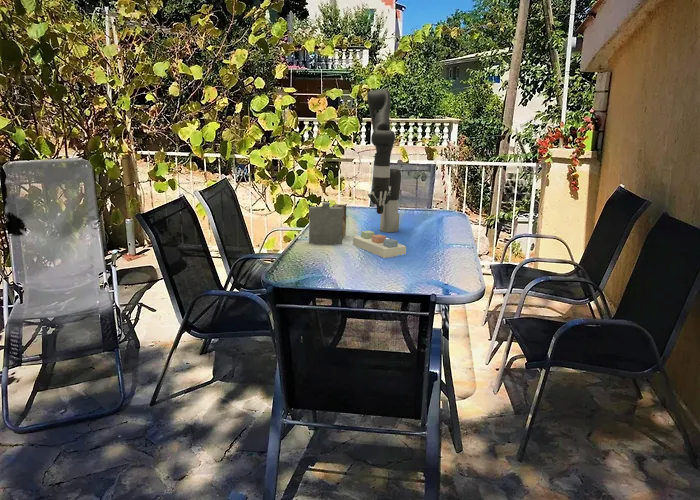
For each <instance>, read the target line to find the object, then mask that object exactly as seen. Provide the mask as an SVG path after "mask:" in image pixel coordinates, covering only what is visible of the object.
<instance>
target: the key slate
mask: <svg viewBox="0 0 700 500" xmlns="http://www.w3.org/2000/svg"><path fill="white" fill-rule="evenodd" d="M398 243H399V240H397V239H395V238H386V239H385V240H384V243H383V246H386V247H388V248H392V247H398Z"/></svg>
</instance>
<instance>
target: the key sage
mask: <svg viewBox="0 0 700 500" xmlns="http://www.w3.org/2000/svg"><path fill="white" fill-rule="evenodd" d="M372 235H376V233H375V232H374V231H372V230H364V231H363V230H362V231H361V233H360V236H361V237H362V238H365V239H371V238H372Z"/></svg>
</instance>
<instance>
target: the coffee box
mask: <svg viewBox="0 0 700 500" xmlns="http://www.w3.org/2000/svg"><path fill="white" fill-rule="evenodd" d="M331 207H342V208H343V223H342V240H343V239H344V238H345V237H346V236H347V235H346V234H347V204H336V203H335V204H333V205H332V206H331Z"/></svg>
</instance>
